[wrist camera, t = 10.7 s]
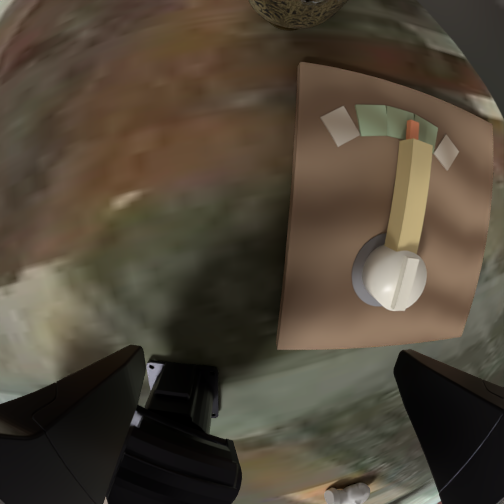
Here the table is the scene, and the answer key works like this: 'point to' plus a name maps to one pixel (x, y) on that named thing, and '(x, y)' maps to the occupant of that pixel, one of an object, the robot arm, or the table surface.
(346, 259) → the tuner board
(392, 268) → the tuner pointer lever
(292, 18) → the cup
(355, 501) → the pale two-lobed sculpture
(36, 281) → the table surface
